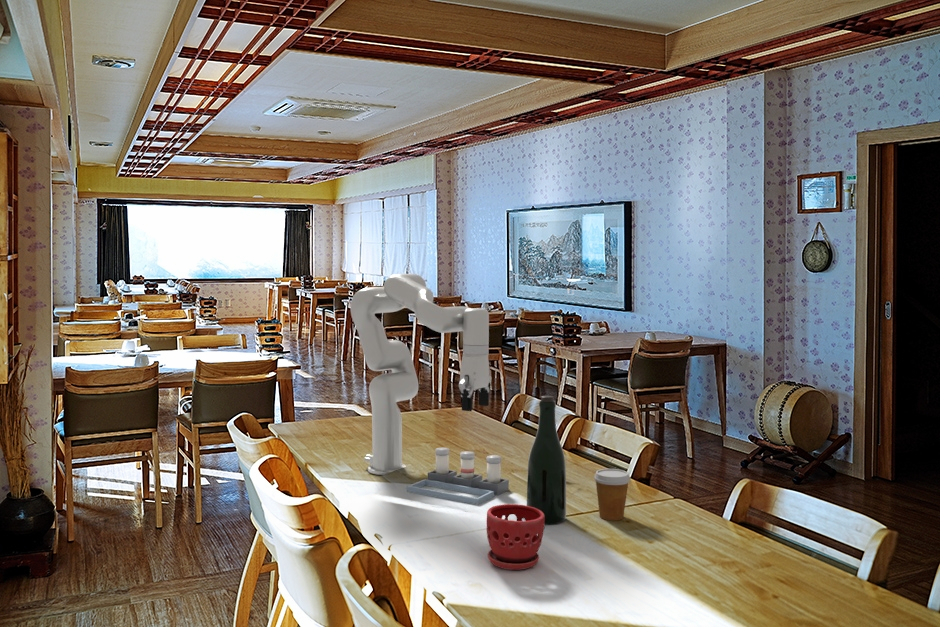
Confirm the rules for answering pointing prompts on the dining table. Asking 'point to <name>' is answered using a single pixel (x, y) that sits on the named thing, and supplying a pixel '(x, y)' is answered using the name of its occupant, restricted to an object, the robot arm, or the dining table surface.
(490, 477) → the fuse
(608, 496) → the disposable coffee cup
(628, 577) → the dining table surface
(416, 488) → the parts tray
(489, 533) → the plant pot
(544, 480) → the green wine bottle
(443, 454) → the ball
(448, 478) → the fuse holder
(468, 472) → the cylinder
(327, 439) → the dining table surface
